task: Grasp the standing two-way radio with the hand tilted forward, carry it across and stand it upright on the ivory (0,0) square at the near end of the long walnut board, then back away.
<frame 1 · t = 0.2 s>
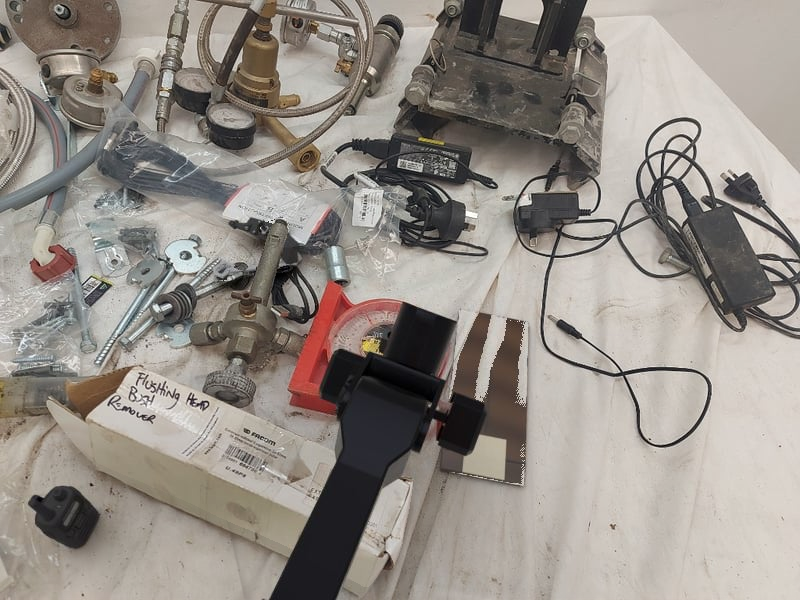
hand: (408, 395, 74), 13 cm above the table, tool tilted 35°, fingers open, 9 cm apart
two-way radio: (78, 527, 73), on the table
board: (487, 391, 90), on the table
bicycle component: (257, 257, 101), on the table
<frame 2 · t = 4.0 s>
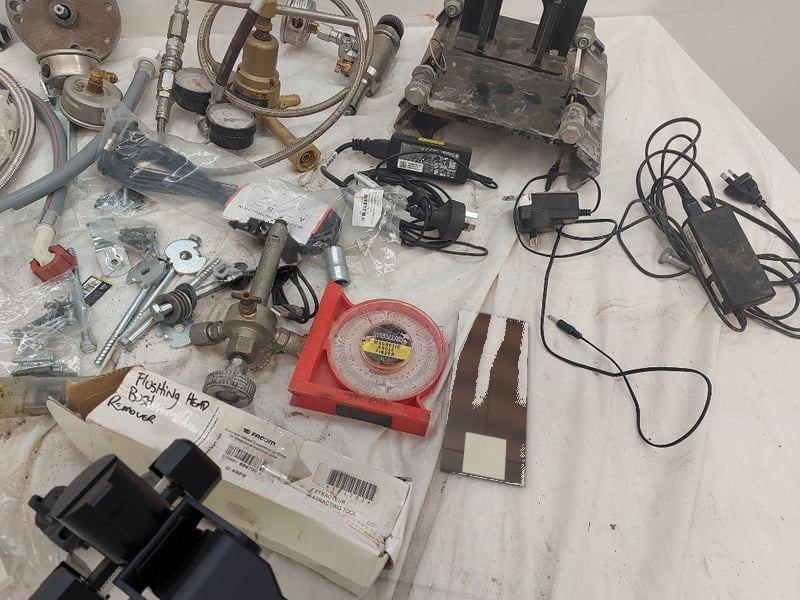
hand: (108, 516, 61), 13 cm above the table, tool tilted 45°, fingers open, 9 cm apart
nothing on the table moved.
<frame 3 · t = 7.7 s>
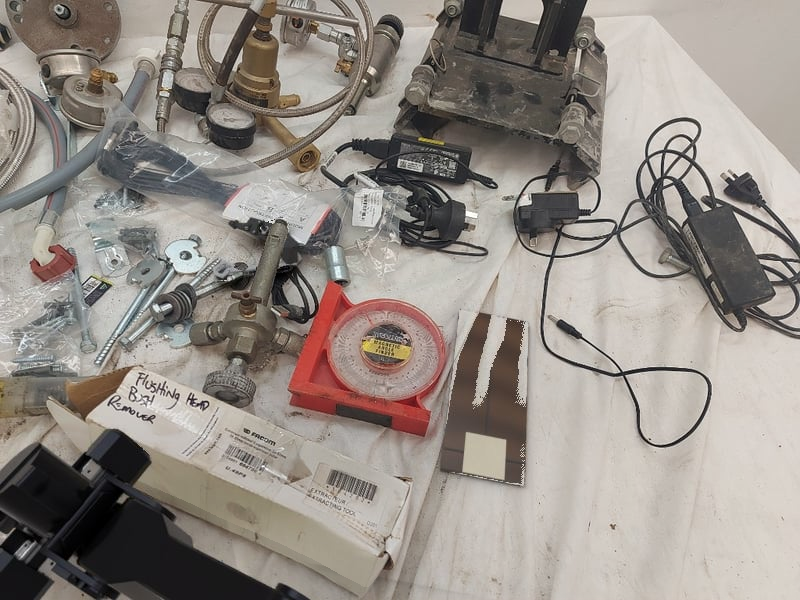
hand: (47, 503, 67), 7 cm above the table, tool tilted 45°, fingers closed on two-way radio, 5 cm apart
two-way radio: (78, 527, 73), on the table, touching gripper
everything else where it was.
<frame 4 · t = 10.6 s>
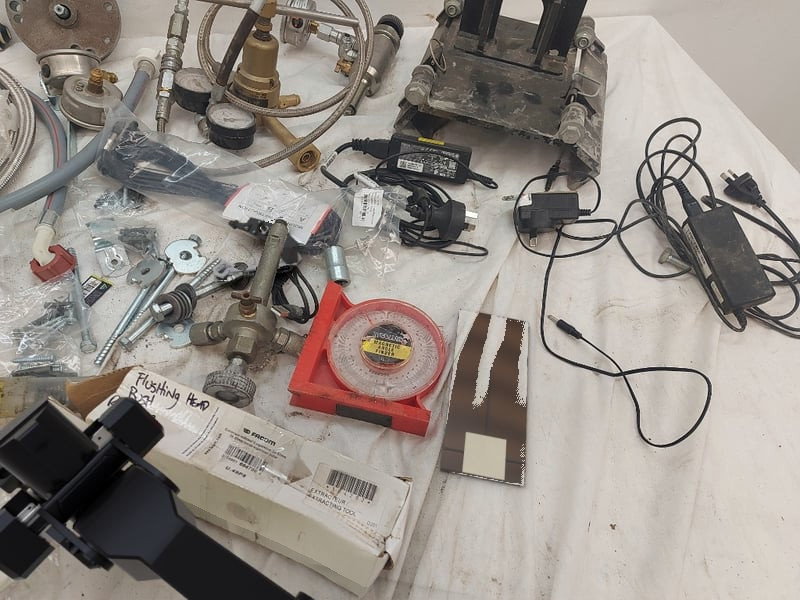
hand: (58, 469, 65), 11 cm above the table, tool tilted 45°, fingers closed on two-way radio, 5 cm apart
two-way radio: (87, 497, 71), point 4 cm above the table, touching gripper
everything else where it was.
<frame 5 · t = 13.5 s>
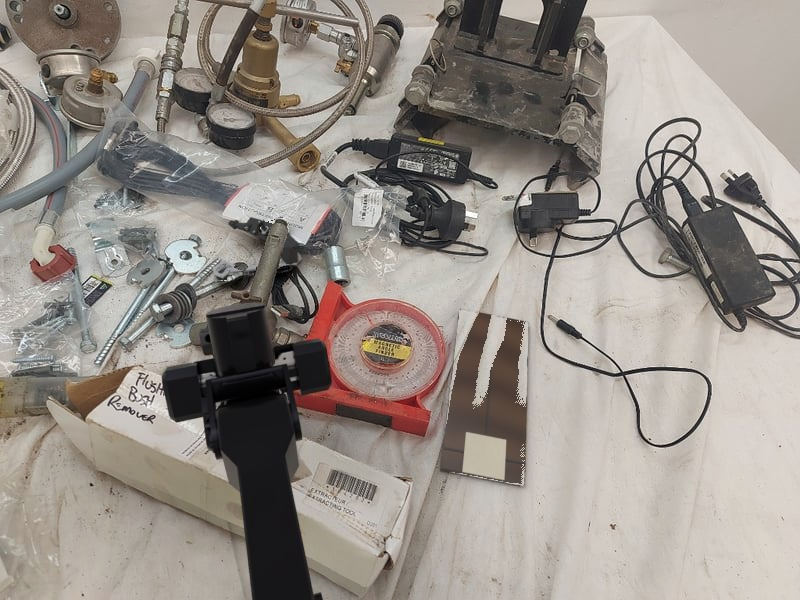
hand: (247, 361, 76), 11 cm above the table, tool tilted 45°, fingers closed on two-way radio, 5 cm apart
two-way radio: (253, 396, 81), point 4 cm above the table, touching gripper
everything else where it was.
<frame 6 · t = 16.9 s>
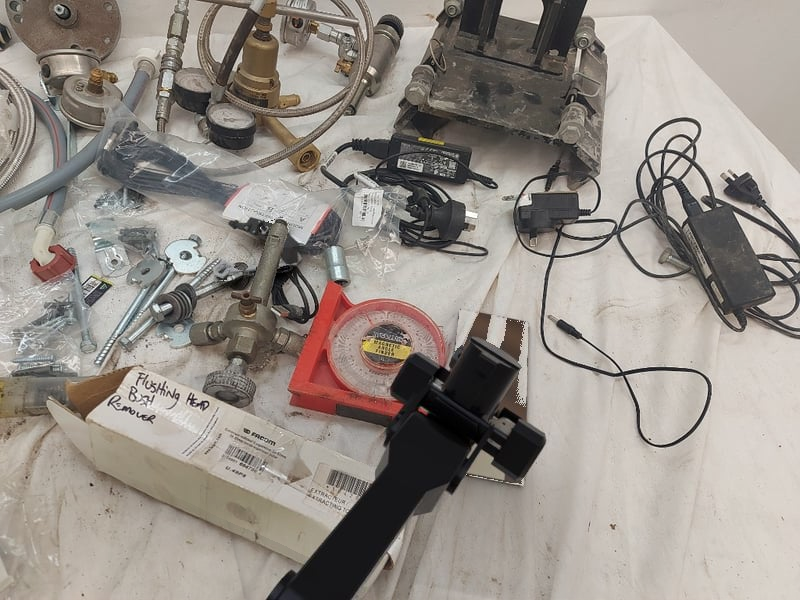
hand: (478, 400, 77), 11 cm above the table, tool tilted 45°, fingers closed on two-way radio, 5 cm apart
two-way radio: (461, 430, 82), point 4 cm above the table, touching gripper
everything else where it was.
when the fingers open (9 cm above the table, at t = 19.7 s): two-way radio stays where it is, resting on board.
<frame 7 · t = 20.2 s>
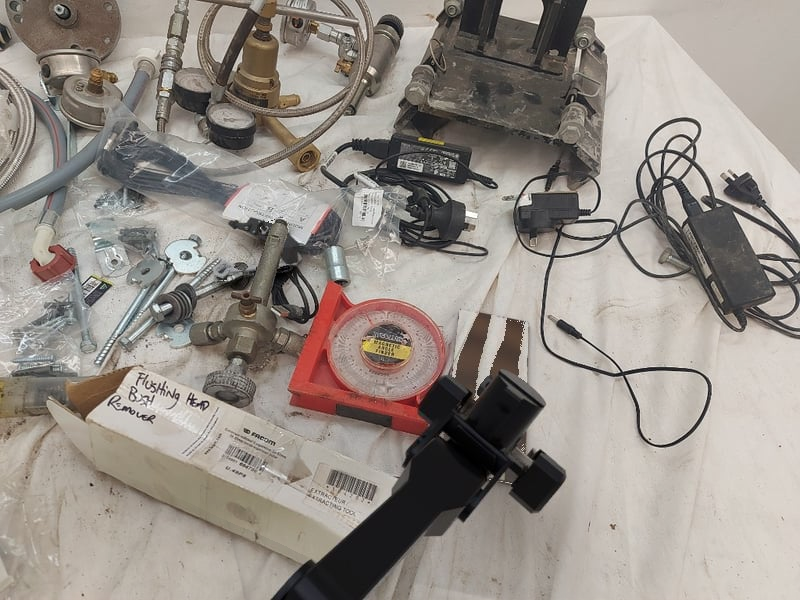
hand: (504, 428, 77), 9 cm above the table, tool tilted 45°, fingers open, 9 cm apart
two-way radio: (483, 456, 83), point 1 cm above the table, touching board
everything else where it was.
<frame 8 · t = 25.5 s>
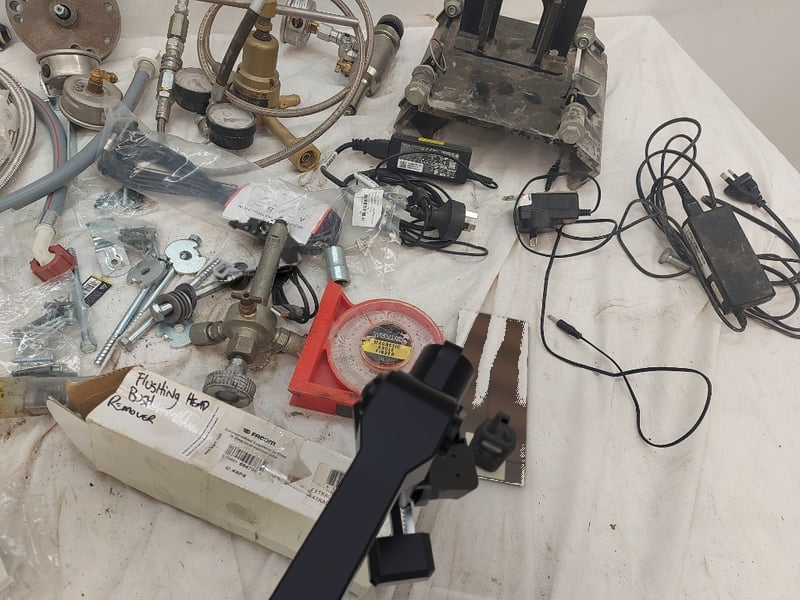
hand: (382, 507, 66), 12 cm above the table, tool pointing down, fingers open, 9 cm apart
nothing on the table moved.
at the end: two-way radio 0.2 cm from the target spot on the board, point 1.2 cm above the board's base; two-way radio tilted 0°; the gripper is holding nothing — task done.
